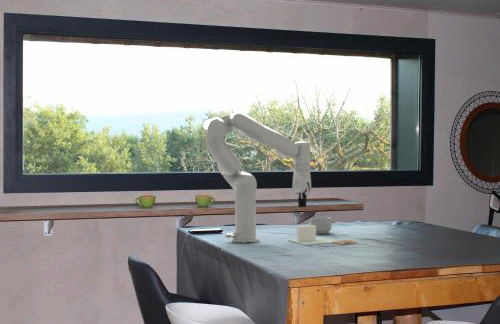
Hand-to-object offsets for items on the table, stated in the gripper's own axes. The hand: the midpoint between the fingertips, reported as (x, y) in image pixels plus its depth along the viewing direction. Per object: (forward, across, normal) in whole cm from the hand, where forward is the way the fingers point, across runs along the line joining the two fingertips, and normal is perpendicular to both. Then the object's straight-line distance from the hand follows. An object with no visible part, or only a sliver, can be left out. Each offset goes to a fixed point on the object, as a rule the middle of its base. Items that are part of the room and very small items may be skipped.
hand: (302, 206), depth 317 cm
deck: (+15, +7, -2) cm, 17 cm away
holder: (+15, +22, +9) cm, 28 cm away
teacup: (+15, -12, +19) cm, 27 cm away
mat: (+15, +10, 0) cm, 18 cm away
